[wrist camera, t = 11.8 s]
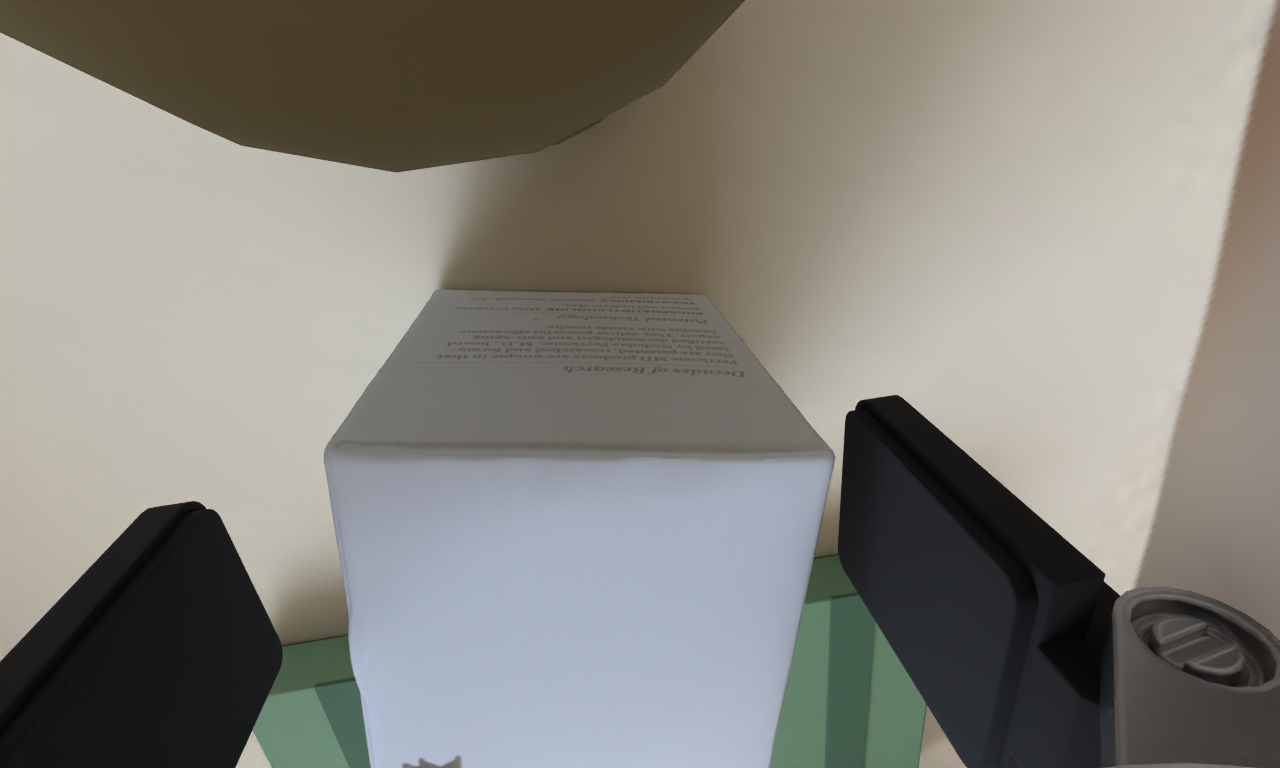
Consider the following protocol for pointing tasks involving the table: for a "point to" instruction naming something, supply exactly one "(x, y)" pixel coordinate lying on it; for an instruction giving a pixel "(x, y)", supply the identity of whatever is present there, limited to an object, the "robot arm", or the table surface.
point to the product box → (574, 536)
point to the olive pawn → (377, 67)
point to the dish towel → (808, 726)
